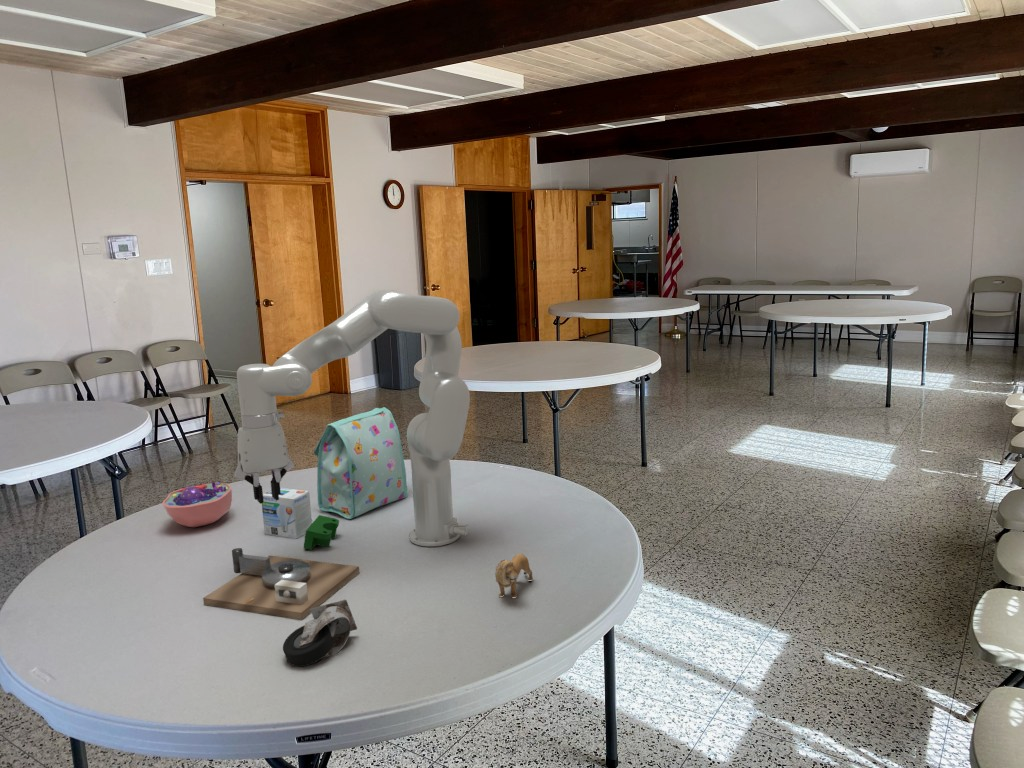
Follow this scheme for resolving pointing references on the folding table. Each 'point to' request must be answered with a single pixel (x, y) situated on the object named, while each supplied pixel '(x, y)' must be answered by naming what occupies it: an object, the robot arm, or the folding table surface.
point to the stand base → (283, 590)
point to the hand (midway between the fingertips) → (267, 499)
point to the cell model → (199, 504)
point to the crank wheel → (270, 568)
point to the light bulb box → (287, 513)
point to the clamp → (321, 532)
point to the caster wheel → (320, 634)
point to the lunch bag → (360, 464)
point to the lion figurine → (511, 573)
